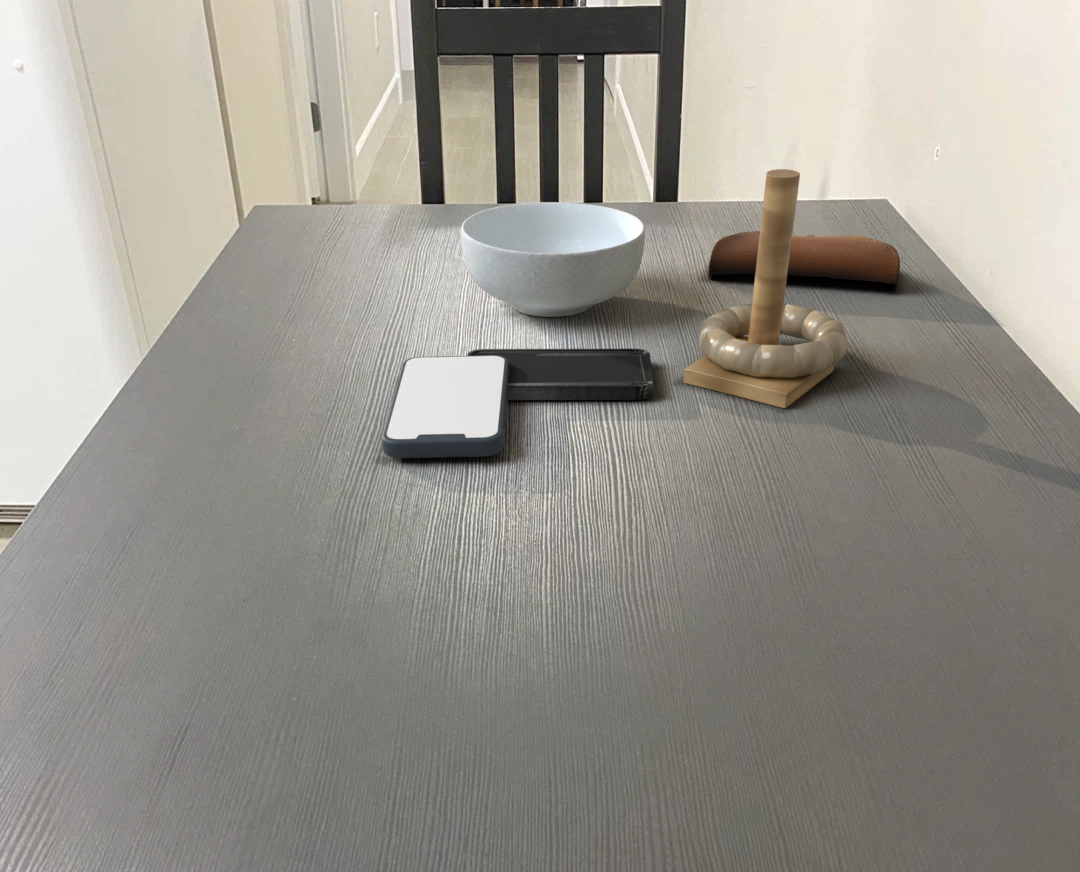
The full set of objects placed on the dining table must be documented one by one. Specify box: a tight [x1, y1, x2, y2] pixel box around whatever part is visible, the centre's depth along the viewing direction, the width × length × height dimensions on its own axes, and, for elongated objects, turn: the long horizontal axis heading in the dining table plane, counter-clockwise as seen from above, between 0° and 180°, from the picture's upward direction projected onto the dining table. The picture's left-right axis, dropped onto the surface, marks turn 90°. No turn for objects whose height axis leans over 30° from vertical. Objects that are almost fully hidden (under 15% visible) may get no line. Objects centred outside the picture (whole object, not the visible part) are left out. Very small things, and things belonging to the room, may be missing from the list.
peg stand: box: [683, 168, 836, 409], centre depth 84 cm, size 9×9×15 cm
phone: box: [466, 348, 654, 401], centre depth 88 cm, size 8×1×15 cm
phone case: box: [381, 355, 509, 459], centre depth 83 cm, size 9×2×16 cm
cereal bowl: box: [460, 201, 646, 318], centre depth 100 cm, size 17×17×7 cm
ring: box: [698, 303, 849, 378], centre depth 88 cm, size 12×12×2 cm
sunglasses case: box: [707, 230, 901, 291], centre depth 106 cm, size 18×7×7 cm
